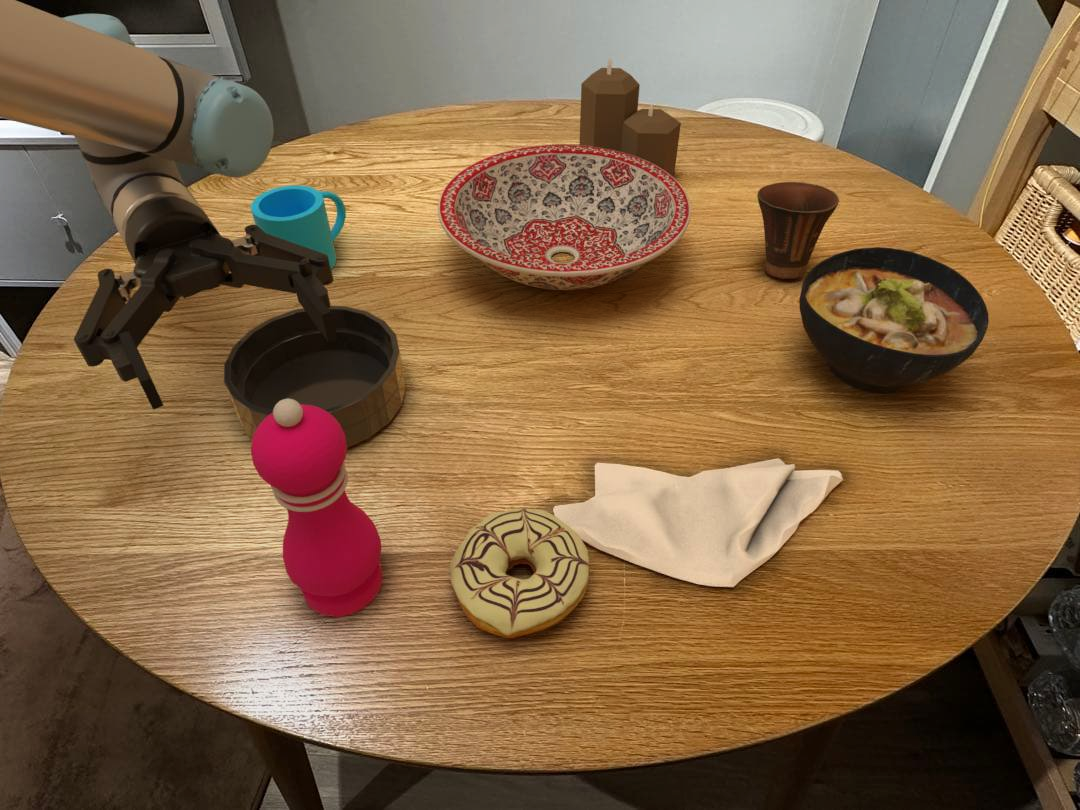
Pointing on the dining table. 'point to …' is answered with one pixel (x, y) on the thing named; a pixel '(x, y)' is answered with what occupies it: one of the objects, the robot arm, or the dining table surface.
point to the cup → (793, 224)
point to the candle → (626, 120)
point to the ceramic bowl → (564, 214)
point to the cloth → (698, 516)
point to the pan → (319, 370)
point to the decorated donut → (508, 599)
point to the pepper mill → (318, 509)
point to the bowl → (890, 317)
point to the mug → (300, 217)
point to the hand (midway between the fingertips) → (245, 359)
